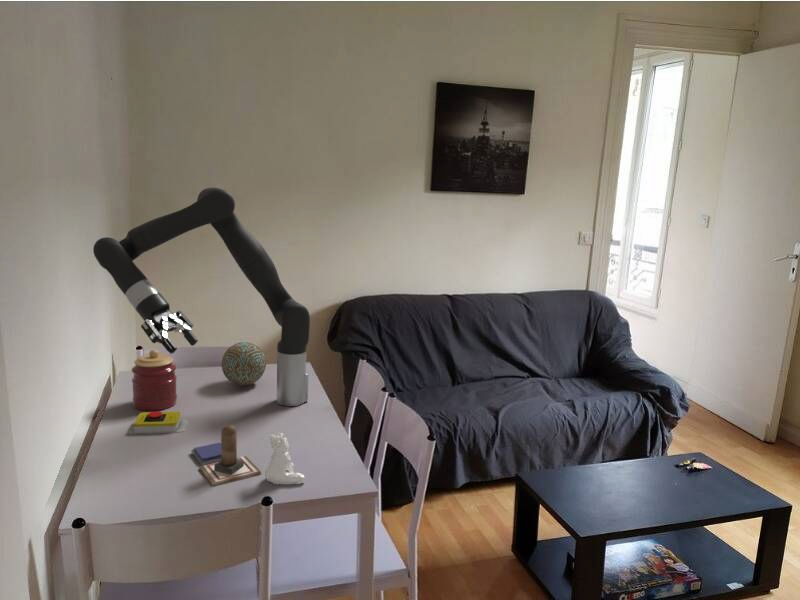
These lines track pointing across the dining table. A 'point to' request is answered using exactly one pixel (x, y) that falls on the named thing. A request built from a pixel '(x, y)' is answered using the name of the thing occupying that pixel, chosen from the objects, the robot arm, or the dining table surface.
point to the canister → (154, 382)
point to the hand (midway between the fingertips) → (185, 347)
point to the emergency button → (159, 423)
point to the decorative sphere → (243, 363)
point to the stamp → (229, 452)
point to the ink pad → (207, 453)
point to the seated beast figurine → (281, 463)
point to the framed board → (221, 478)
